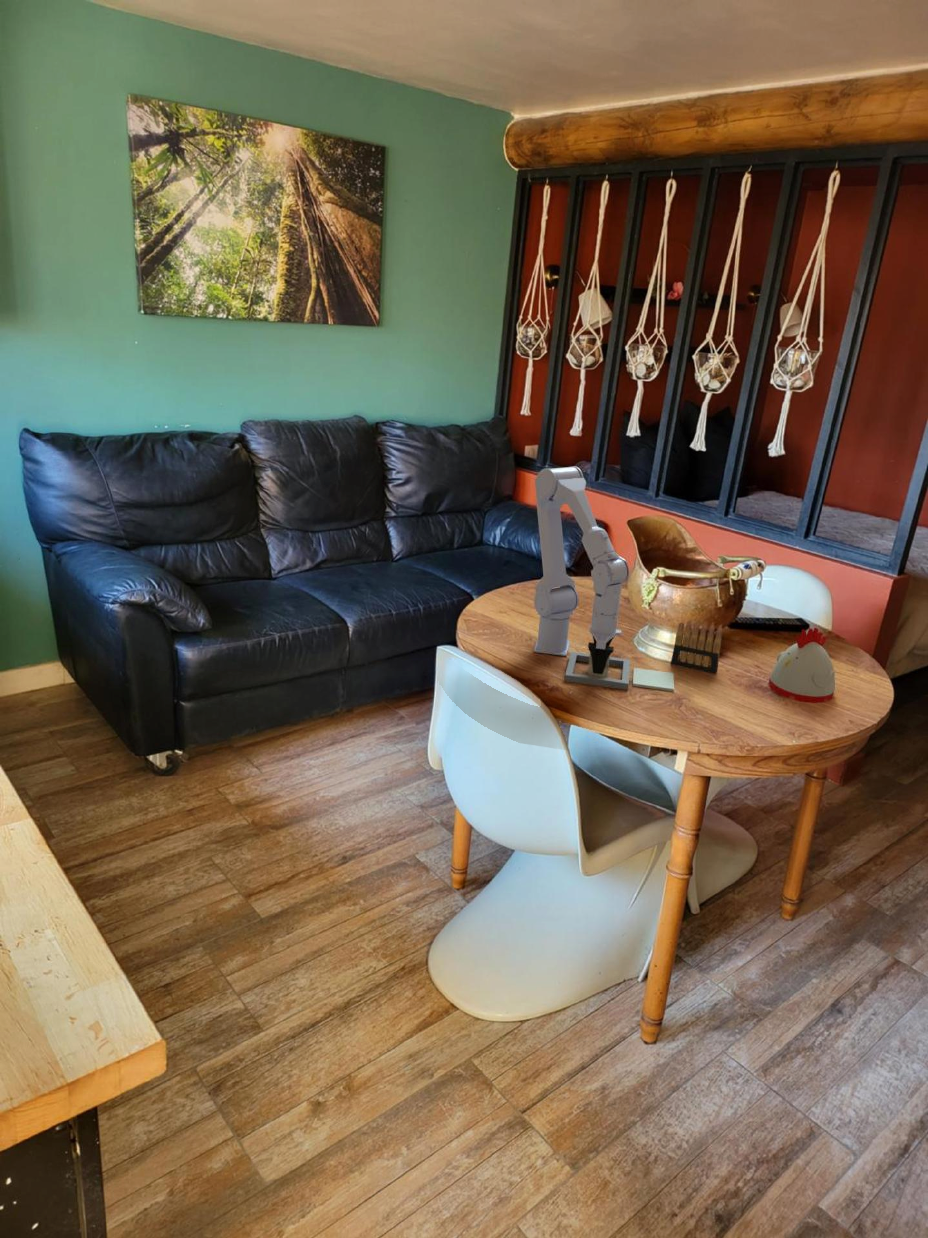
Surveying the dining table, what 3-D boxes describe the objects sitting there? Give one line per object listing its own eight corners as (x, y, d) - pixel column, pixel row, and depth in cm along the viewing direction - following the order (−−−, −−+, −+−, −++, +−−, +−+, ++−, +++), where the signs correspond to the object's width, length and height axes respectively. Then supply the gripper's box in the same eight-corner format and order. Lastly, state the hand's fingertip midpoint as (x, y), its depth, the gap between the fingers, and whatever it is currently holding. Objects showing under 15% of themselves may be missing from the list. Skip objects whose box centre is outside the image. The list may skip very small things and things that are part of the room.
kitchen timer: (755, 680, 193) (767, 619, 187) (802, 674, 197) (815, 615, 192) (797, 706, 180) (811, 642, 175) (846, 699, 185) (861, 637, 180)
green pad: (633, 670, 194) (633, 667, 194) (672, 675, 192) (673, 673, 192) (632, 685, 185) (632, 683, 185) (673, 691, 184) (674, 689, 184)
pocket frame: (570, 657, 199) (571, 651, 198) (629, 665, 196) (630, 659, 196) (564, 681, 186) (565, 675, 185) (627, 689, 183) (628, 683, 183)
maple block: (588, 668, 194) (591, 646, 192) (608, 670, 193) (611, 649, 191) (587, 676, 189) (590, 653, 187) (607, 678, 189) (610, 656, 187)
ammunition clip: (670, 664, 198) (677, 617, 194) (672, 661, 200) (679, 615, 196) (716, 674, 194) (724, 626, 190) (717, 671, 196) (725, 624, 192)
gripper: (622, 624, 178) (615, 681, 183) (624, 603, 192) (617, 657, 196) (589, 620, 180) (583, 677, 184) (594, 599, 193) (587, 653, 198)
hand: (598, 666), depth 190 cm, fingers open, 7 cm apart
